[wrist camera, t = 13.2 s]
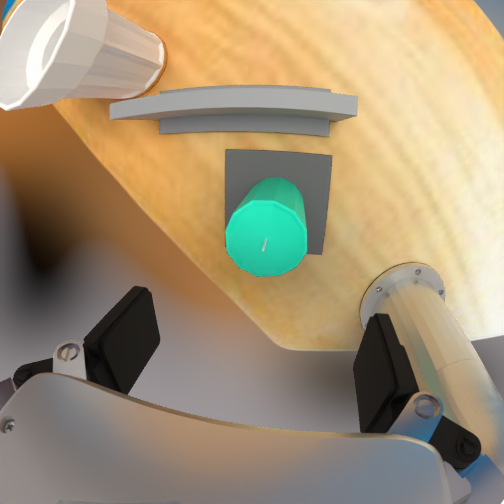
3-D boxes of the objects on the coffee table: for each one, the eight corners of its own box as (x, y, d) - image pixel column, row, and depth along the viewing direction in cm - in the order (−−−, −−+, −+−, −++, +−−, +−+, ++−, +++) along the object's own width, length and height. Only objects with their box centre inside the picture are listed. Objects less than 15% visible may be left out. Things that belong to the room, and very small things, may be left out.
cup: (86, 84, 26) (-21, 83, 10) (134, 14, 22) (38, -29, 6) (138, 124, 28) (19, 136, 12) (195, 47, 23) (102, -14, 8)
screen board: (337, 137, 26) (356, 138, 18) (155, 134, 28) (109, 138, 20) (338, 92, 24) (357, 74, 16) (156, 93, 26) (110, 85, 18)
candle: (309, 184, 28) (319, 217, 17) (296, 236, 30) (296, 297, 19) (252, 171, 28) (225, 196, 17) (243, 224, 30) (213, 278, 20)
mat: (321, 252, 31) (321, 254, 30) (227, 244, 33) (225, 247, 32) (331, 155, 27) (332, 156, 26) (226, 149, 28) (225, 149, 27)
